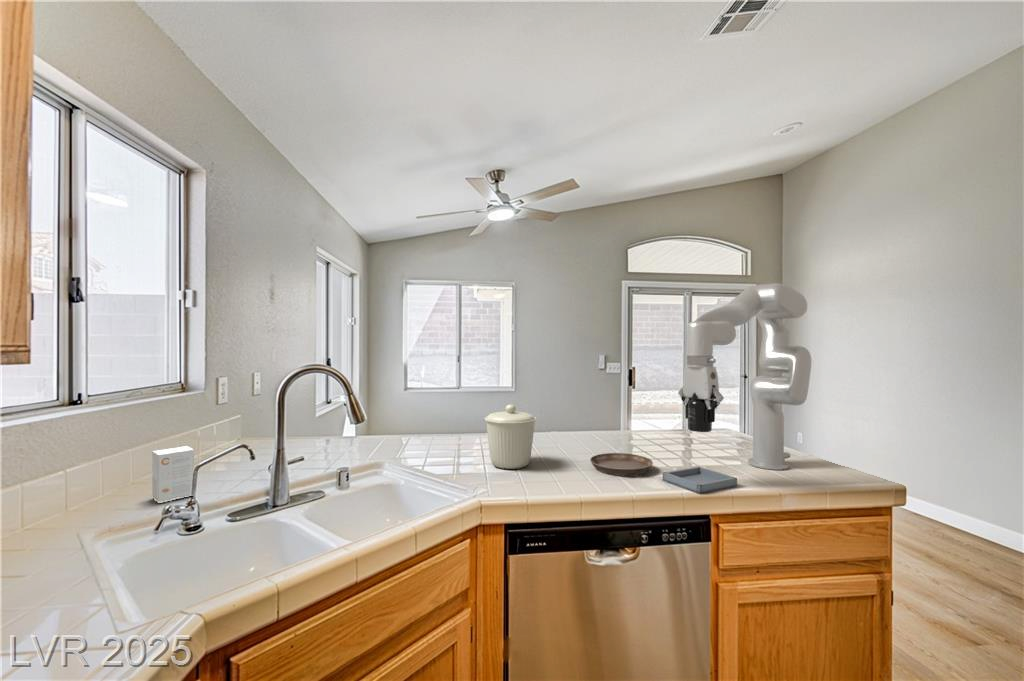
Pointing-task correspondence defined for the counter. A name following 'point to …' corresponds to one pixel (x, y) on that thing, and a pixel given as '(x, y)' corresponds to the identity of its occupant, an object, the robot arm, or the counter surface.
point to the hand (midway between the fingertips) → (699, 419)
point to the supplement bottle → (698, 415)
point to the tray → (699, 479)
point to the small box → (172, 473)
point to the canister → (510, 437)
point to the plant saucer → (621, 463)
